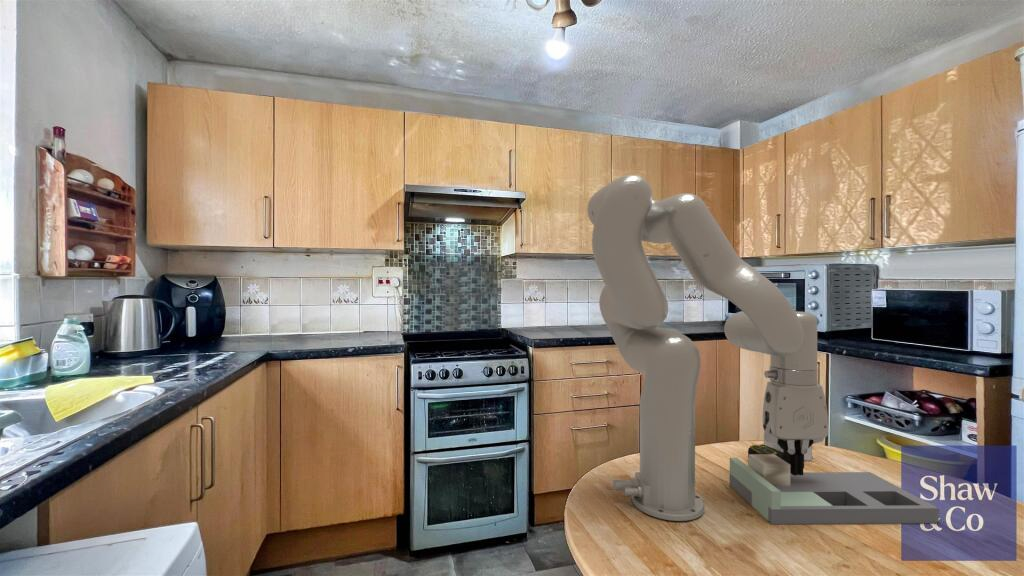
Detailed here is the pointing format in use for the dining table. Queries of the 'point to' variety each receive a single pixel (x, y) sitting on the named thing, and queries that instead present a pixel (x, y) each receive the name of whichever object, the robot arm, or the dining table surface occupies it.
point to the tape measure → (764, 450)
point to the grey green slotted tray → (830, 498)
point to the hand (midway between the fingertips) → (793, 472)
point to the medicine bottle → (806, 456)
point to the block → (771, 468)
